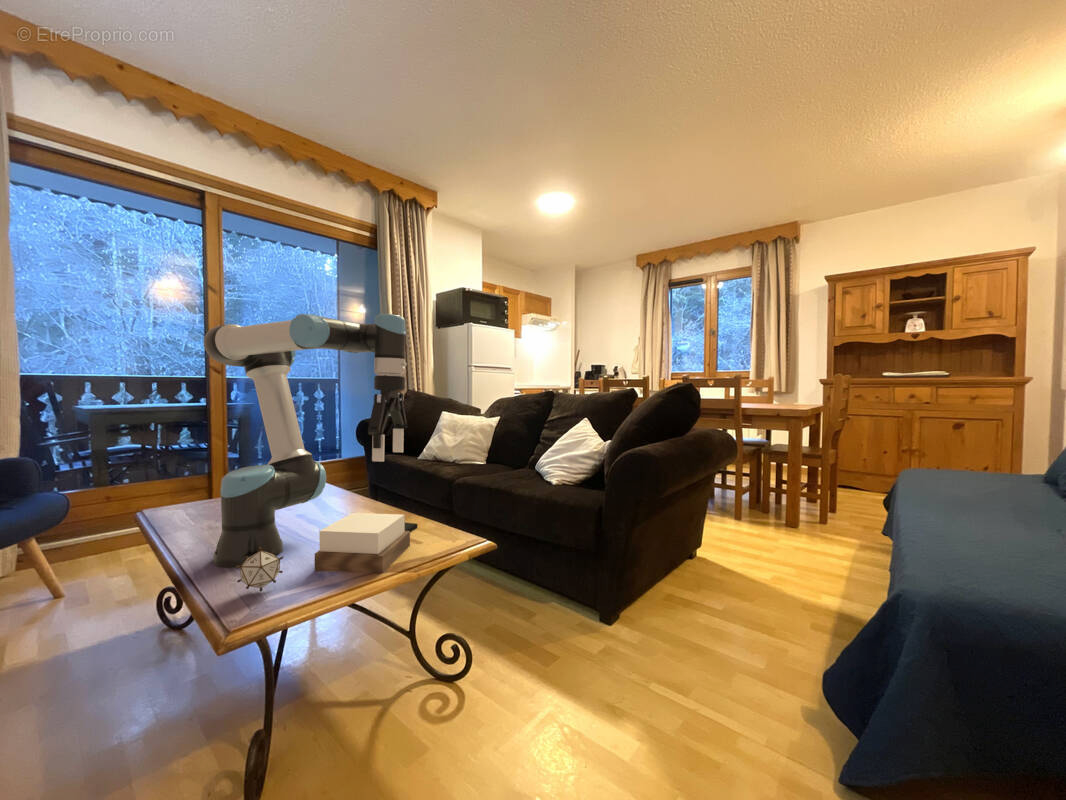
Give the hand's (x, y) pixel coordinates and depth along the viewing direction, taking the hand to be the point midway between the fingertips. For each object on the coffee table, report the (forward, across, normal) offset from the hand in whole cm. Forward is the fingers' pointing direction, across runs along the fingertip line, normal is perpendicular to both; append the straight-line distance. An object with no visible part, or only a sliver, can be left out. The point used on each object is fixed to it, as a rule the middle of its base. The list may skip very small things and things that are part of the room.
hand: (388, 456), depth 108 cm
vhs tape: (+27, +15, +4) cm, 31 cm away
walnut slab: (+27, -2, +5) cm, 28 cm away
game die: (+27, -20, +20) cm, 39 cm away
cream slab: (+22, -2, +5) cm, 23 cm away
